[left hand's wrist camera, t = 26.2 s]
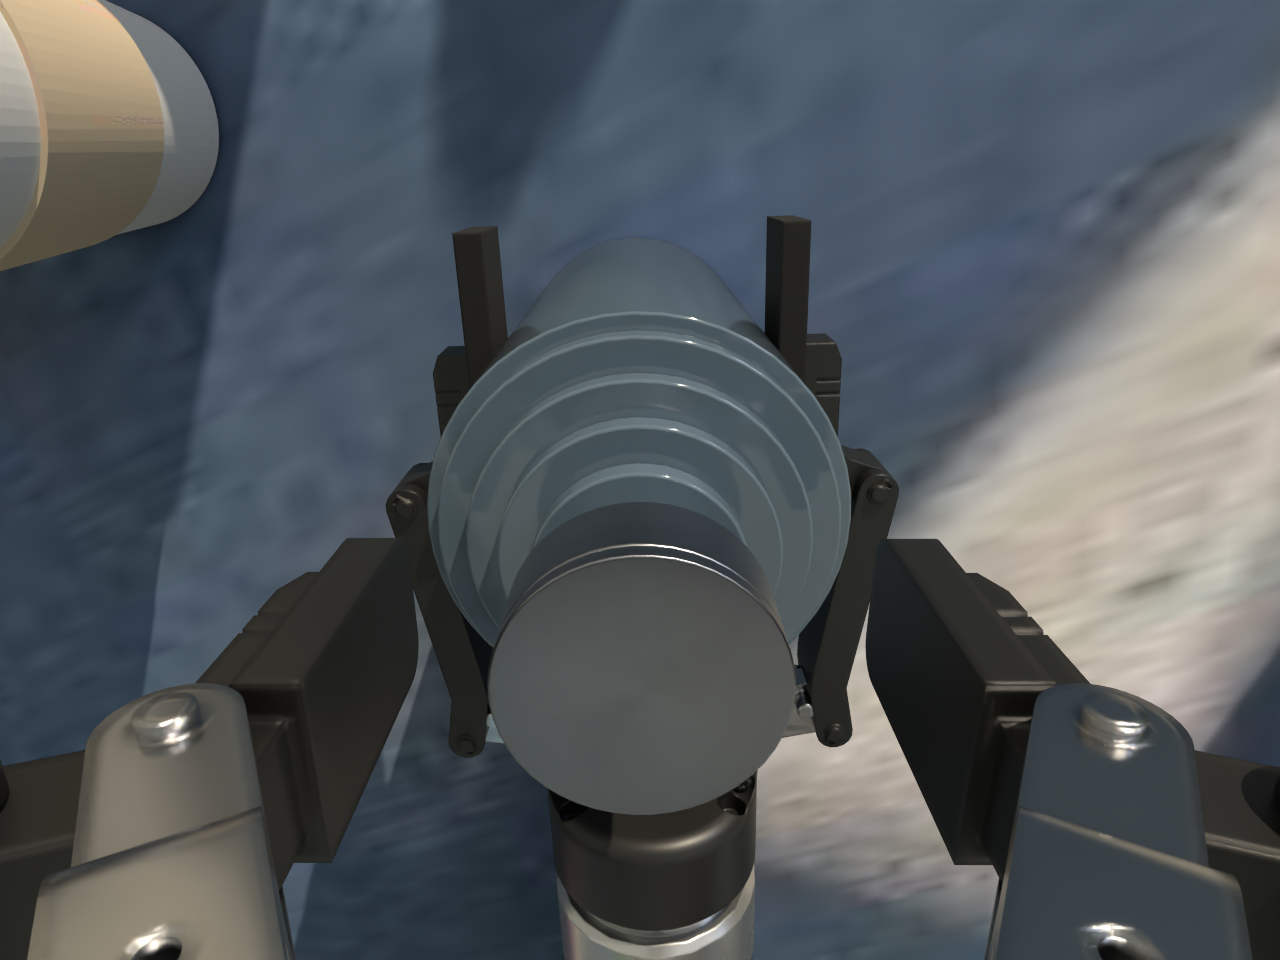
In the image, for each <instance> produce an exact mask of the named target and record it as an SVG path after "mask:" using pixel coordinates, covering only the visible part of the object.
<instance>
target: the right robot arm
mask: <svg viewBox="0 0 1280 960" xmlns="http://www.w3.org/2000/svg"><path fill="white" fill-rule="evenodd" d="M452 235H453V244H454V253H455V262H456V271H457V280H458V289H459V298H460V307H461V316H462V325H463V334H464V342H465V346H449V347H447V348H446V349H445V350H444V351H443V352H442V353H441V354H440V355H439V356H438V357H437V361H436V364H435V368H434V371H433V379H434V386H435V392H436V402H437V406H438V408H437V410H438V418H439V426H440V433H441V437H442V434H443V432H444V429H445V427H446V425H447V424H448V422H449V420H450V418H451V417H452V415H453V413H454V411H455V410H456V408H457V406H458V404H459V403H460V402H461V400H462V399H463V398H464V396H465V395H466V394H467V392H468V391H469V390H470V388H471V387H472V386H473V384H474V383H475V382H476V380H477V379H478V378H479V376H480V375H481V374H482V373H483V371H484V370H485V369H486V367H487V366H488V365H489V363H490V362H491V361H492V359H493V358H494V357H495V355H496V354H497V353H498V351H499V350H500V349H501V347H502V346H503V345H504V343H505V342H506V341H507V340H508V337H507V326H506V315H505V304H504V293H503V283H502V272H501V261H500V250H499V240H498V229H497V226H492V227H471V228H468V229H465V230H462V231H459V232H456V233H453V234H452ZM810 240H811V220H808V219H804V218H800V217H796V216H767V247H766V296H765V334H766V336H767V337H768V338H769V339H770V341H771V342H772V343H773V344H774V346H775V347H776V348H777V349H778V351H779V352H780V353H781V354H782V356H783V357H784V358H785V359H786V361H787V362H788V363H789V364H790V366H791V367H792V368H793V369H794V371H795V372H796V373H797V374H798V376H799V377H800V378H801V379H802V381H803V382H804V383H805V384H806V386H807V387H808V388H809V389H810V391H811V392H812V393H813V394H814V396H815V397H816V399H817V400H818V402H819V404H820V405H821V407H822V408H823V410H824V411H825V413H826V414H827V416H828V417H829V419H830V422H831V424H832V426H833V428H834V430H835V433H836V435H837V437H838V420H839V402H840V383H841V381H840V378H841V365H842V359H841V356H840V353H839V350H838V348H837V345H836V342H834V341H833V340H832V339H831V338H830V337H828V336H827V335H826V334H807V317H808V292H809V266H810ZM841 448H842V451H843V454H844V458H845V461H846V465H847V469H848V476H849V483H850V490H851V522H850V528H849V535H848V542H847V546H846V550H845V553H844V557H843V560H842V564H841V567H840V570H839V572H838V574H837V576H836V579H835V581H834V583H833V585H832V588H831V590H830V592H829V594H828V595H827V597H826V598H825V600H824V602H823V603H822V605H821V606H820V608H819V610H818V611H817V613H816V614H815V615H814V617H813V618H812V619H811V620H810V622H809V623H808V624H807V625H806V627H805V628H804V629H803V630H802V631H801V633H800V634H799V639H798V652H797V656H798V665H794V666H795V678H796V689H795V701H794V705H793V709H792V714H791V718H790V720H789V723H788V725H787V728H786V730H785V732H784V735H783V736H782V738H784V737H790V736H795V735H801V734H806V733H812V732H816V735H817V737H818V740H819V741H820V742H821V743H822V744H823V745H825V746H828V747H838V746H841V745H844V744H845V743H846V742H848V741H849V739H850V738H851V736H852V723H851V716H850V709H849V703H848V696H847V689H846V688H847V684H848V680H849V677H850V673H851V669H852V666H853V662H854V658H855V654H856V651H857V647H858V643H859V640H860V636H861V632H862V628H863V625H864V621H865V617H866V614H867V610H868V606H869V602H870V598H871V589H872V580H873V571H874V563H875V555H876V550H877V547H878V544H879V542H880V541H881V540H882V539H887V536H888V532H889V528H890V525H891V521H892V517H893V513H894V510H895V506H896V502H897V499H898V492H899V488H898V485H897V483H896V481H895V480H894V479H893V477H892V476H891V475H890V474H889V473H888V471H887V470H886V469H885V468H884V467H883V466H882V464H881V463H880V462H879V461H878V460H877V458H876V457H875V456H874V455H873V454H872V453H871V452H870V451H868V450H865V449H851V448H848V447H845V446H842V445H841ZM432 465H433V462H430V463H419V464H417V465H414V466H413V467H412V468H411V469H410V470H409V471H408V473H407V474H406V475H405V476H404V478H403V479H402V480H401V482H400V483H399V484H398V486H397V487H396V488H395V489H394V491H393V492H392V494H391V495H390V496H389V497H388V499H387V503H386V511H387V515H388V518H389V520H390V523H391V526H392V529H393V532H394V535H395V538H402V539H403V540H404V541H405V543H406V545H407V548H408V552H409V559H410V568H411V577H412V586H413V590H414V592H415V595H416V598H417V601H418V604H419V607H420V610H421V613H422V616H423V618H424V621H425V624H426V627H427V630H428V633H429V636H430V639H431V641H432V644H433V647H434V650H435V653H436V656H437V659H438V662H439V665H440V667H441V670H442V673H443V676H444V679H445V682H446V685H447V688H448V690H449V693H450V696H451V699H452V704H451V717H450V731H449V746H450V748H451V749H452V751H453V752H454V753H455V754H457V755H458V756H462V757H465V758H466V757H474V756H477V755H479V754H480V753H481V752H482V751H483V748H484V745H485V741H487V742H496V743H504V742H503V741H502V739H501V737H500V735H499V733H498V731H497V728H496V726H495V723H494V721H493V718H492V714H491V709H490V705H489V700H488V687H487V683H488V670H489V664H490V660H491V656H492V652H493V647H492V646H491V645H490V644H489V643H487V642H486V641H485V640H484V639H483V638H482V637H481V635H480V634H479V633H478V632H477V631H476V630H475V629H474V628H473V627H472V625H471V624H470V623H469V622H468V621H467V619H466V618H465V617H464V615H463V614H462V612H461V611H460V609H459V608H458V606H457V605H456V603H455V602H454V601H453V599H452V597H451V595H450V593H449V591H448V589H447V587H446V585H445V583H444V581H443V579H442V577H441V574H440V571H439V568H438V565H437V562H436V559H435V557H434V554H433V549H432V544H431V539H430V534H429V527H428V509H427V500H428V489H429V478H430V473H431V469H432ZM757 771H758V770H757ZM757 771H756V772H755V773H754V774H753V775H752V776H750V777H749V778H748V779H746V780H745V781H744V782H742V783H741V784H740V785H739V786H737V787H735V788H734V789H732V790H730V791H729V792H727V793H725V794H724V795H722V796H720V797H718V798H715V799H713V800H711V801H709V802H707V803H704V804H701V805H698V806H695V807H692V808H689V809H684V810H680V811H675V812H670V813H662V814H652V815H630V814H620V813H612V812H607V811H602V810H597V809H593V808H590V807H587V806H584V805H581V804H578V803H576V802H573V801H571V800H569V799H567V798H564V797H562V796H560V795H558V794H557V793H555V792H553V791H552V790H550V789H548V798H549V808H550V819H551V830H552V840H553V851H554V860H555V867H556V870H557V877H556V886H557V895H558V904H559V913H560V923H561V932H562V941H563V950H564V960H752V952H753V944H754V900H755V875H754V860H755V838H756V789H757Z"/></svg>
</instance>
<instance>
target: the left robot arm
mask: <svg viewBox="0 0 1280 960" xmlns="http://www.w3.org/2000/svg"><path fill="white" fill-rule="evenodd" d="M417 660H418V631H417V622H416V613H415V604H414V595H413V586H412V577H411V568H410V559H409V552H408V548H407V545H406V543H405V541H404V540H403V539H402V538H348V539H346V540H345V541H344V542H343V543H342V544H341V546H340V547H339V548H338V549H337V551H336V552H335V553H334V554H333V556H332V557H331V558H330V559H329V561H328V562H327V563H326V564H325V566H324V567H323V568H322V569H321V570H320V572H307V573H305V574H303V575H302V576H300V577H298V578H297V579H295V580H293V581H291V582H290V583H288V584H286V585H285V586H283V587H281V588H279V589H278V590H276V591H275V593H274V594H273V595H272V596H271V597H270V598H269V599H268V601H267V602H266V603H265V604H264V605H263V606H262V607H261V609H260V610H259V611H258V616H254V617H253V618H252V619H251V620H250V621H249V622H248V623H247V625H246V626H245V627H244V628H243V632H242V634H238V635H237V636H236V637H235V638H234V639H233V641H232V642H231V643H230V644H229V645H228V646H227V647H226V649H225V650H224V651H223V652H222V653H221V654H220V655H219V657H218V658H217V659H216V660H215V661H214V662H213V663H212V665H211V666H210V667H209V668H208V669H207V670H206V671H205V673H204V674H203V675H202V676H201V677H200V678H199V679H198V681H197V682H196V683H195V684H187V685H180V686H175V687H171V688H166V689H163V690H160V691H156V692H153V693H151V694H148V695H145V696H143V697H140V698H138V699H136V700H134V701H132V702H130V703H128V704H126V705H124V706H123V707H121V708H119V709H117V710H116V711H115V712H113V713H112V714H110V715H109V716H108V717H106V718H105V719H104V720H103V721H102V722H101V723H99V725H98V726H97V727H96V728H95V729H94V730H93V732H92V733H91V735H90V737H89V738H88V741H87V744H86V749H85V750H83V751H79V752H74V753H69V754H64V755H59V756H53V757H48V758H43V759H38V760H33V761H28V762H23V763H18V764H13V765H8V766H2V763H1V760H0V960H296V957H295V952H294V946H293V940H292V935H291V929H290V923H289V918H288V912H287V906H286V901H285V896H284V892H283V887H282V885H283V883H284V881H285V879H286V877H287V875H288V873H289V871H290V869H291V867H292V865H293V863H332V860H333V858H334V856H335V854H336V852H337V849H338V847H339V845H340V843H341V840H342V838H343V836H344V834H345V831H346V829H347V827H348V825H349V823H350V820H351V818H352V816H353V814H354V811H355V809H356V807H357V805H358V802H359V800H360V798H361V796H362V794H363V791H364V789H365V787H366V785H367V782H368V780H369V778H370V776H371V773H372V771H373V769H374V767H375V765H376V762H377V760H378V758H379V756H380V753H381V751H382V749H383V747H384V745H385V742H386V740H387V738H388V736H389V733H390V731H391V729H392V727H393V724H394V722H395V720H396V718H397V716H398V713H399V711H400V709H401V707H402V704H403V702H404V700H405V698H406V695H407V693H408V691H409V689H410V687H411V684H412V682H413V679H414V676H415V672H416V667H417ZM866 660H867V667H868V672H869V677H870V680H871V683H872V685H873V687H874V689H875V692H876V694H877V696H878V698H879V700H880V702H881V705H882V707H883V709H884V711H885V713H886V716H887V718H888V720H889V722H890V724H891V727H892V729H893V731H894V733H895V735H896V738H897V740H898V742H899V744H900V746H901V749H902V751H903V753H904V755H905V757H906V760H907V762H908V764H909V766H910V768H911V770H912V773H913V775H914V777H915V779H916V781H917V784H918V786H919V788H920V790H921V792H922V795H923V797H924V799H925V801H926V803H927V806H928V808H929V810H930V812H931V814H932V817H933V819H934V821H935V823H936V825H937V827H938V830H939V832H940V834H941V836H942V838H943V841H944V843H945V845H946V847H947V849H948V852H949V854H950V856H951V858H952V860H953V863H954V865H993V866H994V868H995V870H996V872H997V874H998V876H999V882H998V887H997V892H996V896H995V901H994V906H993V912H992V918H991V923H990V929H989V935H988V940H987V946H986V952H985V957H984V960H1280V767H1275V766H1269V765H1264V764H1259V763H1254V762H1249V761H1244V760H1239V759H1234V758H1229V757H1224V756H1218V755H1213V754H1209V753H1204V752H1200V751H1196V750H1195V749H1194V744H1193V741H1192V738H1191V737H1190V735H1189V733H1188V732H1187V730H1186V729H1185V728H1184V727H1183V726H1182V725H1181V723H1179V722H1178V721H1177V720H1176V719H1175V718H1174V717H1172V716H1171V715H1170V714H1168V713H1167V712H1165V711H1164V710H1163V709H1161V708H1159V707H1157V706H1156V705H1154V704H1152V703H1150V702H1148V701H1146V700H1144V699H1142V698H1140V697H1137V696H1135V695H1132V694H1129V693H1127V692H1124V691H1120V690H1117V689H1114V688H1109V687H1105V686H1100V685H1093V684H1090V683H1089V682H1088V680H1087V679H1086V678H1085V677H1084V676H1083V675H1082V674H1081V673H1080V671H1079V670H1078V669H1077V668H1076V667H1075V666H1074V665H1073V664H1072V662H1071V661H1070V660H1069V659H1068V658H1067V657H1066V656H1065V654H1064V653H1063V652H1062V651H1061V650H1060V649H1059V648H1058V647H1057V645H1056V644H1055V643H1054V642H1053V641H1052V640H1051V639H1050V638H1049V636H1048V635H1043V630H1042V628H1041V627H1040V626H1039V625H1038V624H1037V623H1036V622H1035V621H1034V619H1033V618H1032V617H1028V616H1027V612H1026V610H1025V609H1024V608H1023V607H1022V606H1021V605H1020V604H1019V603H1018V601H1017V600H1016V599H1015V598H1014V597H1013V596H1012V595H1011V593H1010V592H1009V591H1007V590H1005V589H1004V588H1002V587H1000V586H999V585H997V584H995V583H993V582H992V581H990V580H988V579H987V578H985V577H983V576H981V575H980V574H978V573H965V571H964V570H963V569H962V568H961V566H960V565H959V564H958V563H957V562H956V560H955V559H954V558H953V557H952V555H951V554H950V553H949V552H948V551H947V549H946V548H945V547H944V546H943V544H942V543H941V542H940V541H939V540H937V539H882V540H881V541H880V542H879V544H878V547H877V550H876V555H875V563H874V571H873V580H872V589H871V598H870V607H869V616H868V624H867V633H866Z"/></svg>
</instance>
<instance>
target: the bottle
mask: <svg viewBox="0 0 1280 960" xmlns="http://www.w3.org/2000/svg"><path fill="white" fill-rule="evenodd" d="M627 502H655V503H664V504H670V505H674V506H678V507H682V508H686V509H689V510H692V511H694V512H697V513H700V514H702V515H704V516H706V517H708V518H710V519H712V520H714V521H716V522H717V523H719V524H721V525H722V526H724V527H725V528H726V529H728V530H729V531H730V532H732V533H733V534H734V535H735V536H736V537H738V538H739V539H740V540H741V541H742V542H743V543H744V544H745V545H746V546H747V547H748V549H749V550H750V551H751V553H752V554H753V555H754V556H755V558H756V559H757V561H758V562H759V564H760V566H761V567H762V569H763V571H764V573H765V575H766V578H767V580H768V583H769V585H770V588H771V591H772V594H773V597H774V600H775V603H776V606H777V609H778V612H779V615H780V619H781V622H782V625H783V628H784V631H785V634H786V637H787V640H788V643H790V642H791V641H792V640H793V639H794V638H795V637H796V636H797V635H799V634H800V633H801V631H802V630H803V629H804V628H805V627H806V625H807V624H808V623H809V622H810V620H811V619H812V618H813V617H814V615H815V614H816V613H817V611H818V610H819V608H820V606H821V605H822V603H823V602H824V600H825V598H826V597H827V595H828V594H829V592H830V590H831V588H832V585H833V583H834V581H835V579H836V576H837V574H838V572H839V570H840V567H841V564H842V560H843V557H844V553H845V550H846V546H847V542H848V535H849V528H850V522H851V490H850V483H849V476H848V469H847V465H846V461H845V458H844V454H843V451H842V448H841V444H840V441H839V439H838V437H837V435H836V433H835V430H834V428H833V426H832V424H831V422H830V419H829V417H828V416H827V414H826V413H825V411H824V410H823V408H822V407H821V405H820V404H819V402H818V400H817V399H816V397H815V396H814V394H813V393H812V392H811V391H810V389H809V388H808V387H807V386H806V384H805V383H804V382H803V381H802V379H801V378H800V377H799V376H798V374H797V373H796V372H795V371H794V369H793V368H792V367H791V366H790V364H789V363H788V362H787V361H786V359H785V358H784V357H783V356H782V354H781V353H780V352H779V351H778V349H777V348H776V347H775V346H774V344H773V343H772V342H771V341H770V339H769V338H768V337H767V336H766V334H765V333H764V332H763V331H762V329H761V328H760V327H759V326H758V324H757V323H756V322H755V321H754V319H753V318H752V317H751V316H750V314H749V313H748V312H747V311H746V309H745V308H744V307H743V306H742V304H741V303H740V302H739V301H738V299H737V298H736V297H735V296H734V294H733V293H732V292H731V291H730V289H729V288H728V287H727V286H726V284H725V283H724V282H723V281H722V279H721V278H720V277H719V276H718V275H717V274H716V273H715V271H714V270H713V269H712V268H711V267H709V266H708V265H707V264H706V263H705V262H704V261H703V260H701V259H700V258H698V257H697V256H695V255H694V254H692V253H691V252H689V251H687V250H685V249H683V248H681V247H678V246H676V245H673V244H670V243H667V242H664V241H658V240H653V239H642V238H631V239H620V240H616V241H612V242H607V243H604V244H601V245H599V246H596V247H594V248H591V249H590V250H588V251H586V252H584V253H582V254H580V255H579V256H578V257H576V258H575V259H573V260H572V261H571V262H569V263H568V264H567V265H566V266H565V267H564V268H563V269H562V270H561V271H560V272H559V273H558V274H557V275H556V276H555V278H554V279H553V280H552V282H551V283H550V284H549V285H548V287H547V288H546V289H545V291H544V292H543V293H542V295H541V296H540V297H539V299H538V300H537V301H536V303H535V304H534V305H533V307H532V308H531V309H530V310H529V312H528V313H527V314H526V316H525V317H524V318H523V320H522V321H521V322H520V324H519V325H518V326H517V328H516V329H515V330H514V332H513V333H512V334H511V336H510V337H509V338H508V340H507V341H506V342H505V343H504V345H503V346H502V347H501V349H500V350H499V351H498V353H497V354H496V355H495V357H494V358H493V359H492V361H491V362H490V363H489V365H488V366H487V367H486V369H485V370H484V371H483V373H482V374H481V375H480V376H479V378H478V379H477V380H476V382H475V383H474V384H473V386H472V387H471V388H470V390H469V391H468V392H467V394H466V395H465V396H464V398H463V399H462V400H461V402H460V403H459V404H458V406H457V408H456V410H455V411H454V413H453V415H452V417H451V418H450V420H449V422H448V424H447V425H446V427H445V429H444V432H443V434H442V437H441V440H440V442H439V445H438V447H437V450H436V452H435V456H434V461H433V465H432V469H431V473H430V478H429V489H428V500H427V509H428V527H429V534H430V539H431V544H432V549H433V554H434V557H435V559H436V562H437V565H438V568H439V571H440V574H441V577H442V579H443V581H444V583H445V585H446V587H447V589H448V591H449V593H450V595H451V597H452V599H453V601H454V602H455V603H456V605H457V606H458V608H459V609H460V611H461V612H462V614H463V615H464V617H465V618H466V619H467V621H468V622H469V623H470V624H471V625H472V627H473V628H474V629H475V630H476V631H477V632H478V633H479V634H480V635H481V637H482V638H483V639H484V640H485V641H486V642H487V643H489V644H490V645H491V646H492V647H493V648H494V645H495V641H496V638H497V635H498V631H499V628H500V624H501V621H502V618H503V614H504V611H505V608H506V604H507V601H508V597H509V594H510V591H511V587H512V585H513V582H514V580H515V578H516V575H517V573H518V571H519V569H520V568H521V566H522V564H523V562H524V561H525V559H526V558H527V556H528V555H529V554H530V553H531V551H532V550H533V549H534V548H535V546H536V545H537V544H538V543H540V542H541V541H542V540H543V539H544V538H545V537H546V536H547V535H548V534H549V533H551V532H552V531H553V530H555V529H556V528H557V527H559V526H560V525H562V524H563V523H565V522H567V521H569V520H571V519H572V518H574V517H576V516H578V515H580V514H583V513H586V512H588V511H591V510H593V509H596V508H600V507H604V506H608V505H612V504H619V503H627Z"/></svg>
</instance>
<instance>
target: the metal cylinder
mask: <svg viewBox="0 0 1280 960" xmlns="http://www.w3.org/2000/svg"><path fill="white" fill-rule="evenodd" d="M487 687H488V700H489V705H490V709H491V714H492V718H493V721H494V723H495V726H496V728H497V731H498V733H499V735H500V737H501V739H502V741H503V742H504V744H505V746H506V747H507V749H508V751H509V752H510V753H511V754H512V756H513V757H514V758H515V760H516V761H517V762H518V763H519V764H520V765H521V766H522V767H523V768H524V769H525V770H526V771H527V772H528V773H529V774H530V775H531V776H532V777H533V778H535V779H536V780H537V781H538V782H540V783H541V784H542V785H544V786H545V787H547V788H548V789H550V790H552V791H553V792H555V793H557V794H558V795H560V796H562V797H564V798H567V799H569V800H571V801H573V802H576V803H578V804H581V805H584V806H587V807H590V808H593V809H597V810H602V811H607V812H612V813H620V814H630V815H652V814H662V813H670V812H675V811H680V810H684V809H689V808H692V807H695V806H698V805H701V804H704V803H707V802H709V801H711V800H713V799H715V798H718V797H720V796H722V795H724V794H725V793H727V792H729V791H730V790H732V789H734V788H735V787H737V786H739V785H740V784H741V783H742V782H744V781H745V780H746V779H748V778H749V777H750V776H752V775H753V774H754V773H755V772H756V771H757V770H758V769H759V768H760V767H761V766H762V765H763V764H764V763H765V762H766V760H767V759H768V758H769V756H770V755H771V754H772V753H773V751H774V750H775V749H776V747H777V745H778V743H779V742H780V740H781V738H782V736H783V735H784V732H785V730H786V728H787V725H788V723H789V720H790V718H791V714H792V709H793V705H794V701H795V689H796V678H795V666H794V662H793V658H792V653H791V649H790V646H789V643H788V640H787V637H786V634H785V631H784V628H783V625H782V622H781V619H780V615H779V612H778V609H777V606H776V603H775V600H774V597H773V594H772V591H771V588H770V585H769V583H768V580H767V578H766V575H765V573H764V571H763V569H762V567H761V566H760V564H759V562H758V561H757V559H756V558H755V556H754V555H753V554H752V553H751V551H750V550H749V549H748V547H747V546H746V545H745V544H744V543H743V542H742V541H741V540H740V539H739V538H738V537H736V536H735V535H734V534H733V533H732V532H730V531H729V530H728V529H726V528H725V527H724V526H722V525H721V524H719V523H717V522H716V521H714V520H712V519H710V518H708V517H706V516H704V515H702V514H700V513H697V512H694V511H692V510H689V509H686V508H682V507H678V506H674V505H670V504H664V503H655V502H627V503H619V504H612V505H608V506H604V507H600V508H596V509H593V510H591V511H588V512H586V513H583V514H580V515H578V516H576V517H574V518H572V519H571V520H569V521H567V522H565V523H563V524H562V525H560V526H559V527H557V528H556V529H555V530H553V531H552V532H551V533H549V534H548V535H547V536H546V537H545V538H544V539H543V540H542V541H541V542H540V543H538V544H537V545H536V546H535V548H534V549H533V550H532V551H531V553H530V554H529V555H528V556H527V558H526V559H525V561H524V562H523V564H522V566H521V568H520V569H519V571H518V573H517V575H516V578H515V580H514V582H513V585H512V587H511V591H510V594H509V597H508V601H507V604H506V608H505V611H504V614H503V618H502V621H501V624H500V628H499V631H498V635H497V638H496V641H495V645H494V648H493V652H492V656H491V660H490V664H489V670H488V683H487Z"/></svg>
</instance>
